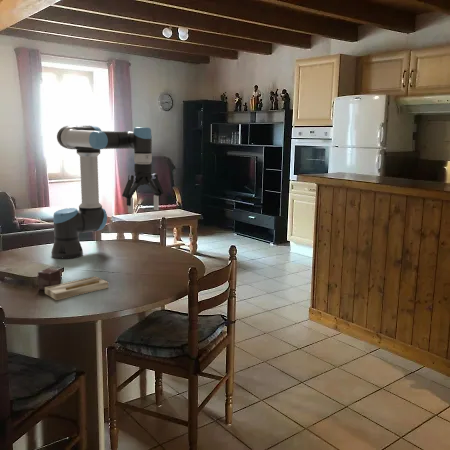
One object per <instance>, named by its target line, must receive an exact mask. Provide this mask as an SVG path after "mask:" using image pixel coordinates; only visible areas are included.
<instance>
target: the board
mask: <svg viewBox="0 0 450 450" xmlns="http://www.w3.org/2000/svg"><path fill="white" fill-rule="evenodd" d="M105 289H109V282H108V281H107V280H104V279H103V278H101V277H98V276H95V275H94V276H91V277H85V278H82V279H78V280H77V279H76V280H72V281H68V282H64V283H60V284H58V285H53V286H49V287H45V290H44V294H45V295H47V296H48V297H50V298H52V299H54V300H55V301H59V300H64V299H66V298H71V297H76V296H79V294H80V295H84V293H85V294H88V292H89V293H92V292H97V291H101V290H105ZM75 295H76V296H75Z"/></svg>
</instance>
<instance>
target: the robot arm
mask: <svg viewBox="0 0 450 450" xmlns="http://www.w3.org/2000/svg"><path fill="white" fill-rule="evenodd" d="M152 135H153V134H152V129H151V127H147V126H146V127H145V126H144V127H140V126H135V127H134V128H133V131H129V130H128V131H127V130H124V131H121V130H119V131H115V130H114V131H113V130H112V131H111V130H102V129H101V128H100V127H98V126H95V125H73V124H71V125H65V126H63V127H61V128H60V129H59V130H58V131H57V133H56V140H57V142H58V144H59V145H60V146H61V147H62V148H65V149H67V150H68V149H69V150H76V154H77V155H78V157H79V165H80V188H81V191H80V193H81V195H80V196H81V203H80V204H79V205H78V209H77V208H75V207H69V208H67V207H66V208H61V209H58V210H56V211H55V212H54V213H53V220H52V223H53V234H54V235H53V237H54V239H53V240H54V242H53V245H52V249H51V258H54V259H61V260H64V259H67V260H68V259H75V258H79V257H82V256H83V254H84V251H83V247H82V244H81V243H80V238H79V236H80V234H84V233H92V232H98V231H101V230H103V229H104V228H105V227H106V225H107V223H108V222H107V221H108V213H107V211H106V209H105V208H104V207H103V205H102V204H101V202H100V194H99V188H100V187H99V169H98V168H99V161H98V158H99V157H98V156H99V155H100V154H101V150H108V149H109V150H113V149H114V150H118V149H119V150H124V149H125V150H126V149H128V150H129V149H131V150H133V151H134V152H133V156H134V157H133V161H134V163H135V164H134V167H133V168H134V170H133V171H134V174H133V175H132V174H128V178H127V182H126V185H125V187H124V190H123V193H122V195H121V196H122V197H123V198H125V199H126V206H127V212H128V213H127V214H134V198H132V197H133V196H134V195H135V192H136V191H137V190H138V188H139V187H140V186H148V187H149V188H150V190H151V191H152V192H153V194H154V195H153V210H154V211H159V210H160V209H159V206H160V205H159V203H161V202H160V201H161V199H160V198H161V196H162V195H164V189H163V188H162V185H161V183H160V180H159V177H158V176H159V175H158V174H157V173H152V172H153V164H152V162H153V161H152V159H153V156H152V155H153V153H152V151H153V148H152V147H153V146H152V145H153V144H152V143H153V139H152V138H153V137H152Z"/></svg>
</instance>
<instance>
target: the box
mask: <svg viewBox="0 0 450 450" xmlns="http://www.w3.org/2000/svg"><path fill="white" fill-rule="evenodd" d="M37 278H38V289H39V290H41V291H45V287H49V286H53V285H58V284H61V270H60V269H54V268H49V267H48V268H45V269H43V270H40V271H38V272H37Z"/></svg>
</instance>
